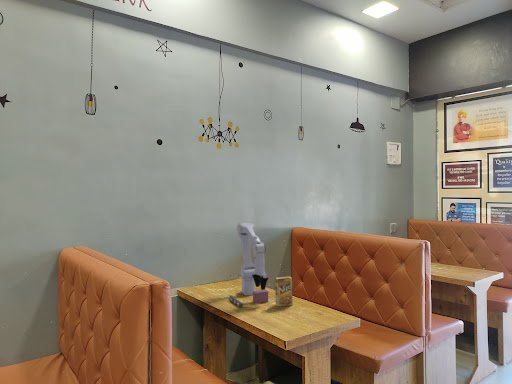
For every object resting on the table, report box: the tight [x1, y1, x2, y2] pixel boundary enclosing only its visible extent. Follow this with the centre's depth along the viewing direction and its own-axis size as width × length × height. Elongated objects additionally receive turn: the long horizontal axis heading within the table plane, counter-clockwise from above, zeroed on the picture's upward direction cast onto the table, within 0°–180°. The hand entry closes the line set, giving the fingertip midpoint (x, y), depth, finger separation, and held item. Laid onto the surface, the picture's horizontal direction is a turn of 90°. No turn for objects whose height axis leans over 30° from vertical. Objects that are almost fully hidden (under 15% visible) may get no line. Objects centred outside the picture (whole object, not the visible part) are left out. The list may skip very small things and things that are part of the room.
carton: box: [252, 289, 269, 304], centre depth 208 cm, size 4×8×6 cm, turn 114°
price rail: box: [229, 295, 244, 309], centre depth 205 cm, size 18×2×2 cm, turn 24°
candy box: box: [274, 275, 294, 307], centre depth 200 cm, size 9×4×15 cm, turn 107°
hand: (260, 288), depth 208 cm, fingers open, 7 cm apart
